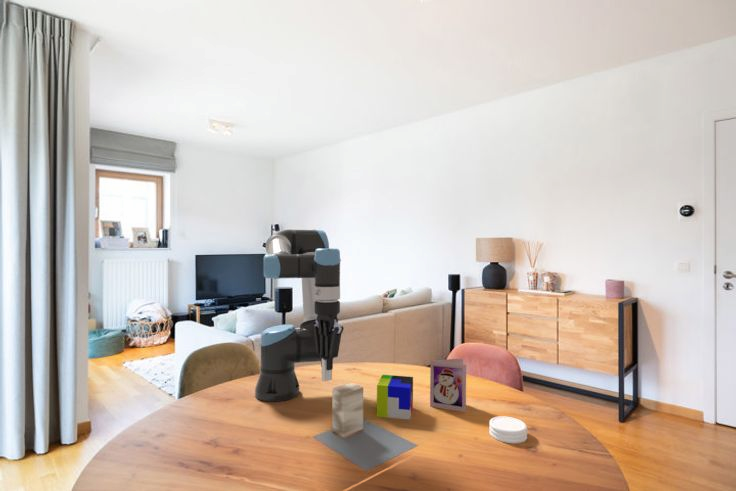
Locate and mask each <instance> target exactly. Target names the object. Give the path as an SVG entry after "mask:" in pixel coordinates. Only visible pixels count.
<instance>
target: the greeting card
mask: <svg viewBox="0 0 736 491" xmlns="http://www.w3.org/2000/svg"><path fill="white" fill-rule="evenodd" d="M429 368H430V372H429V373H430V374H429V375H430V376H429V377H430V378H429V379H430V380H429V381H430V382H429V383H430V384H429V385H430V386H429V388H430V390H429V396H430V397H429V407H432V408H437V409H443V410H444V409H445V410H450V411H456V412H457V411H458V412H462V413H463V412H464V413H466V412H467V364H464V358H448V359H447V358H446V359H432V360H430V367H429Z"/></svg>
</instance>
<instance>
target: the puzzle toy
mask: <svg viewBox="0 0 736 491" xmlns="http://www.w3.org/2000/svg"><path fill="white" fill-rule="evenodd" d="M378 380H379V381H378V383H377V385H376V417H378V418H390V419H399V420H411V417H412V412H413V409H414V405H413V404H414V376H404V375H392V374H390V375H389V374H381V376H380V379H378Z"/></svg>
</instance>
